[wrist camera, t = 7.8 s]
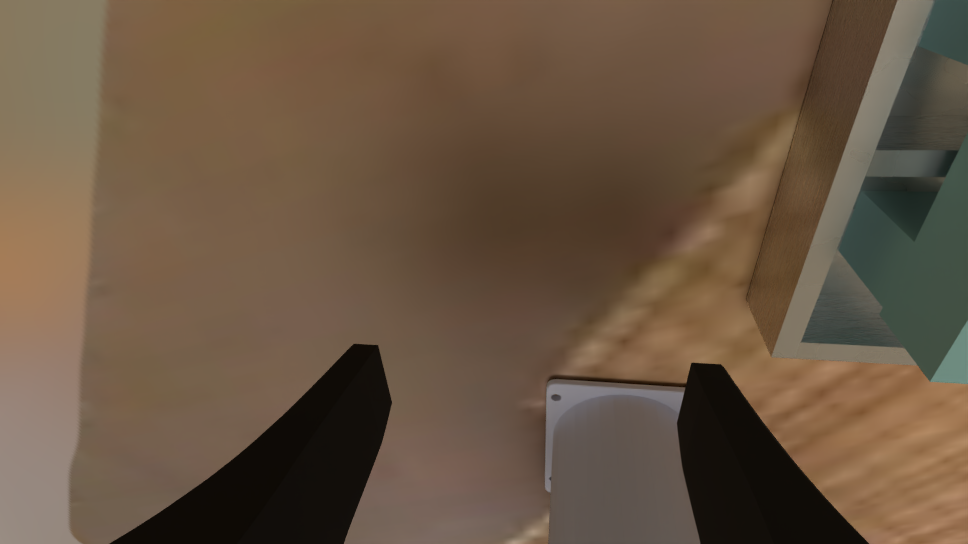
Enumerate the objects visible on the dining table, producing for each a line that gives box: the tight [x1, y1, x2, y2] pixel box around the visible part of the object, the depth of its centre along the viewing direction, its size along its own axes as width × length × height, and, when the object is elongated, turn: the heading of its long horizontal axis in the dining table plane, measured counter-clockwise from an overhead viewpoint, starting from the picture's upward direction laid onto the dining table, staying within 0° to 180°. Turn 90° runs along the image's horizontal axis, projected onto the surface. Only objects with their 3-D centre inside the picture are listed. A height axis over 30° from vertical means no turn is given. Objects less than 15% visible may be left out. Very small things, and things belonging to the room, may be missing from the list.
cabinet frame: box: [746, 0, 968, 365], centre depth 16 cm, size 15×8×4 cm, turn 3°
